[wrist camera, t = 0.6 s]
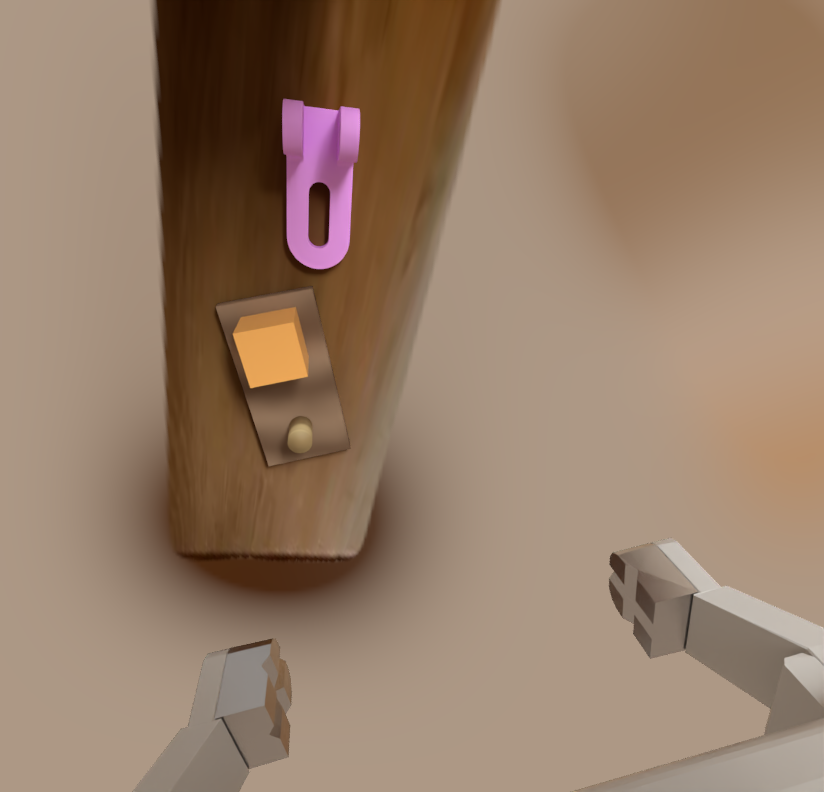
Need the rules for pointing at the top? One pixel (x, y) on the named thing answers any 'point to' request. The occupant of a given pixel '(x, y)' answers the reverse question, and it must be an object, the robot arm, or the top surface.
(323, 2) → the top surface
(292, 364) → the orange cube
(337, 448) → the peg board
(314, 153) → the bracket
